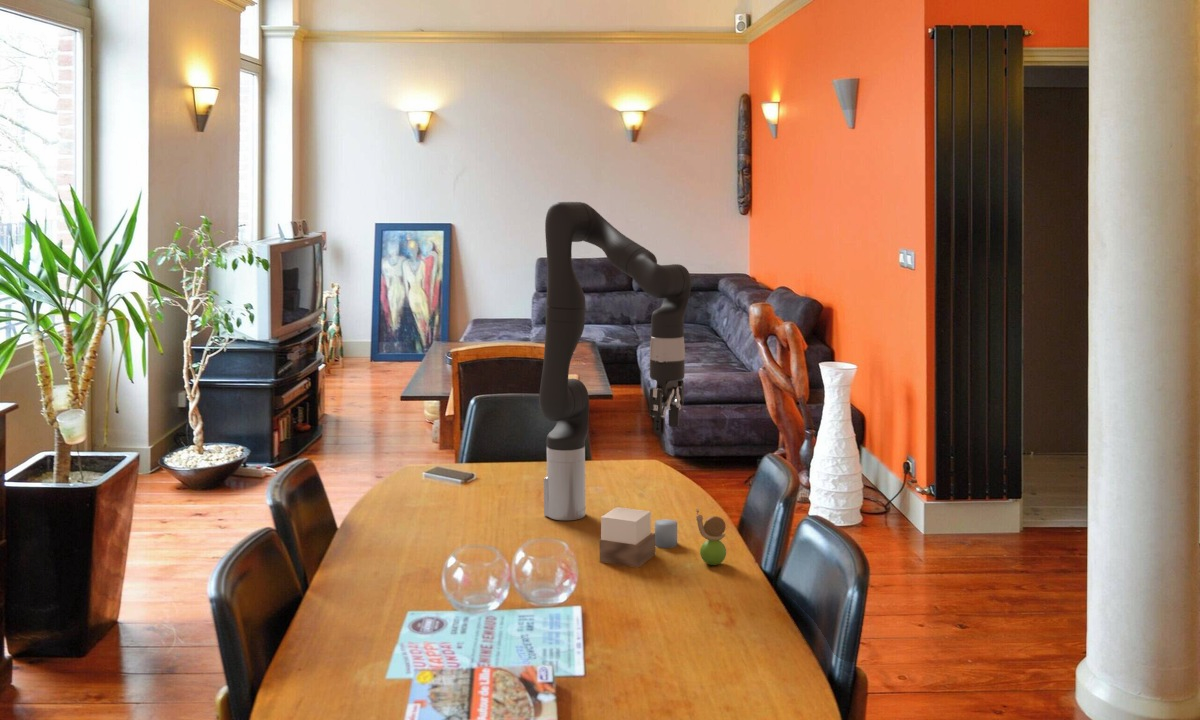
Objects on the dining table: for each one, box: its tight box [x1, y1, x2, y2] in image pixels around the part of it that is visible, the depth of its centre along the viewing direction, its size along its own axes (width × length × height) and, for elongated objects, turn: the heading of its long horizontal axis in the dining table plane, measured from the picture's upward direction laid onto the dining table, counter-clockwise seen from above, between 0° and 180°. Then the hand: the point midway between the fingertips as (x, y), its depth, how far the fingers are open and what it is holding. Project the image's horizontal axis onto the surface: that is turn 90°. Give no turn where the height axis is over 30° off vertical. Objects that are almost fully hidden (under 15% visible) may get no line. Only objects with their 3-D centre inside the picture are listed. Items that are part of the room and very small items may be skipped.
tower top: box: [600, 506, 652, 545], centre depth 227 cm, size 8×8×5 cm
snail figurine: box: [695, 508, 727, 566], centre depth 223 cm, size 5×6×12 cm
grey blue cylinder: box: [654, 519, 678, 549], centre depth 237 cm, size 5×5×5 cm
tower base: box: [598, 532, 656, 569], centre depth 228 cm, size 9×9×5 cm
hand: (666, 430), depth 233 cm, fingers open, 8 cm apart
